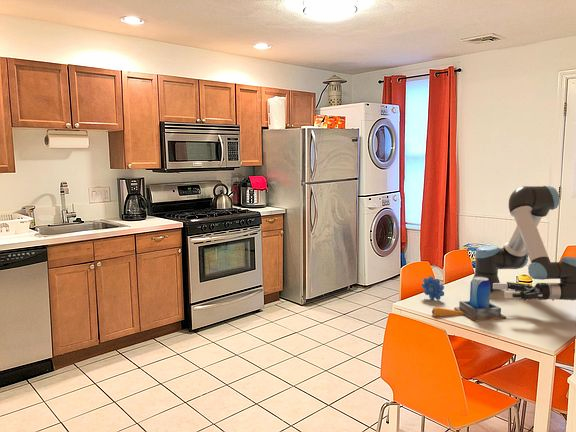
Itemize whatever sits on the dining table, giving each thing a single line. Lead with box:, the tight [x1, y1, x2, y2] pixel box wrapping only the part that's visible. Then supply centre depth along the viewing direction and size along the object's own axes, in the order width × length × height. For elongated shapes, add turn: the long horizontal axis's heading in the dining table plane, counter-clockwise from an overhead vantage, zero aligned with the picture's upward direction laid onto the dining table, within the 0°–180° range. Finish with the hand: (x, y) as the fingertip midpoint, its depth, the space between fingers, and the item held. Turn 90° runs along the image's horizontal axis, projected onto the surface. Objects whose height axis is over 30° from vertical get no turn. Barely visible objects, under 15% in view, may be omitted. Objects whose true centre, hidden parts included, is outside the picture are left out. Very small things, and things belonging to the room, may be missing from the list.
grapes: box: [421, 275, 445, 301], centre depth 229 cm, size 12×7×12 cm, turn 55°
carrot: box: [431, 306, 464, 317], centre depth 207 cm, size 20×4×4 cm, turn 96°
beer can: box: [469, 276, 491, 309], centre depth 207 cm, size 8×8×16 cm
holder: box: [453, 300, 507, 322], centre depth 208 cm, size 16×16×4 cm
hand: (498, 290), depth 206 cm, fingers open, 13 cm apart
